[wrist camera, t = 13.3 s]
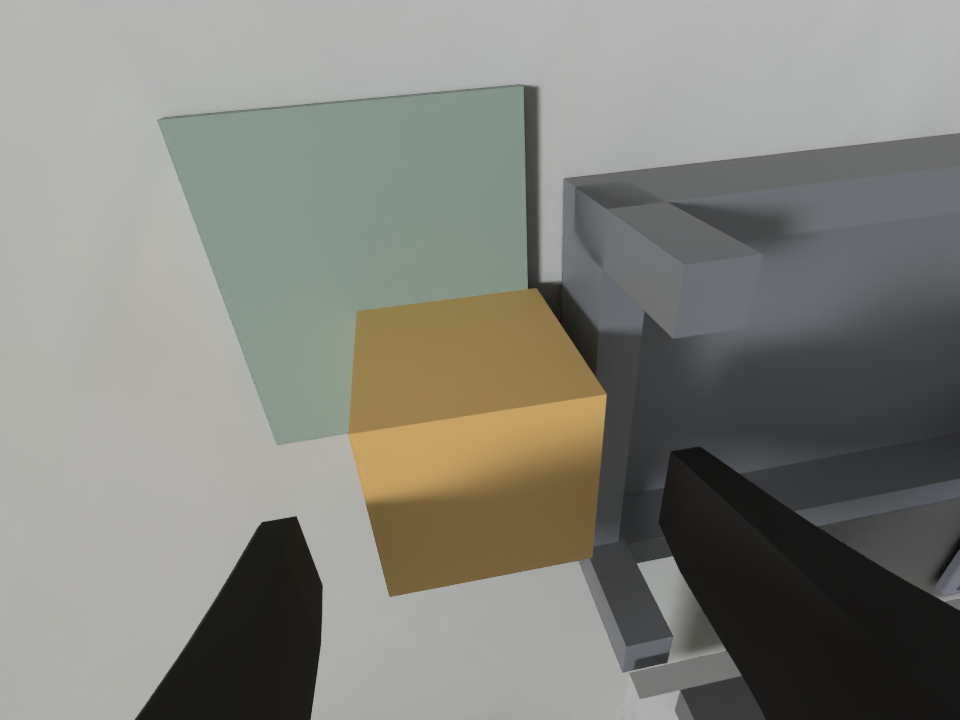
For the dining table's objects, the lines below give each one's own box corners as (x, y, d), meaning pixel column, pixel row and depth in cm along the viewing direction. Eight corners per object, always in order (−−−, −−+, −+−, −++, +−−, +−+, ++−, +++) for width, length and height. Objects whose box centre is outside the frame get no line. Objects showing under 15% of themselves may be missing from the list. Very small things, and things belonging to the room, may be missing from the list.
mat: (519, 84, 11) (523, 86, 10) (526, 395, 15) (530, 404, 15) (164, 117, 10) (157, 119, 10) (279, 435, 14) (276, 445, 14)
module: (536, 288, 13) (606, 394, 9) (536, 425, 15) (592, 557, 11) (356, 310, 12) (348, 434, 8) (385, 450, 15) (389, 597, 11)
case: (1148, 111, 14) (1547, 147, 9) (967, 432, 19) (1151, 553, 15) (563, 178, 12) (683, 265, 7) (557, 508, 18) (622, 672, 13)
